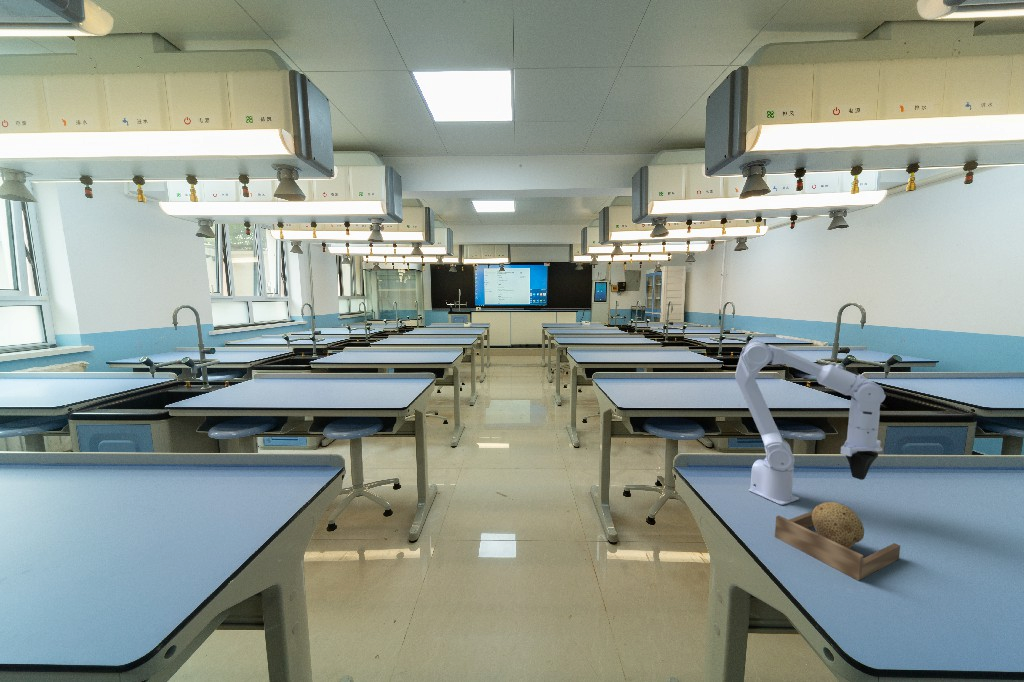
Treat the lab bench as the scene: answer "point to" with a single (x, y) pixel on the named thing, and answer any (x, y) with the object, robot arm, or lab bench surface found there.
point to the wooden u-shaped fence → (832, 548)
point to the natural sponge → (838, 523)
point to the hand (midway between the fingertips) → (858, 478)
